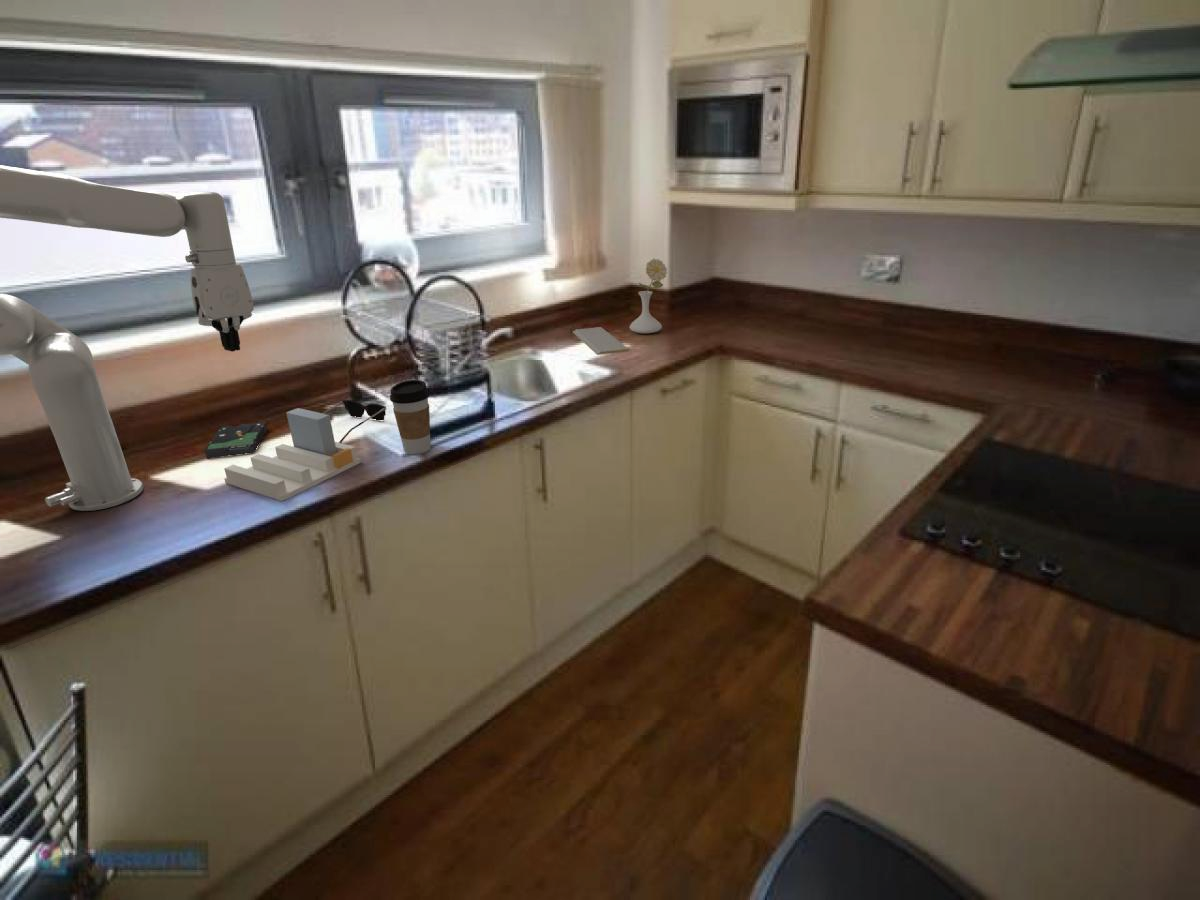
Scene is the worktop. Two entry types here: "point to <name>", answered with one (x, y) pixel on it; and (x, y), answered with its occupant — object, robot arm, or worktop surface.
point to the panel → (311, 431)
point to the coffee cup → (412, 415)
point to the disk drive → (236, 440)
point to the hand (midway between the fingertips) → (232, 349)
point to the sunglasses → (362, 411)
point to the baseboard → (599, 340)
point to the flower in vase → (645, 320)
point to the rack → (290, 470)
